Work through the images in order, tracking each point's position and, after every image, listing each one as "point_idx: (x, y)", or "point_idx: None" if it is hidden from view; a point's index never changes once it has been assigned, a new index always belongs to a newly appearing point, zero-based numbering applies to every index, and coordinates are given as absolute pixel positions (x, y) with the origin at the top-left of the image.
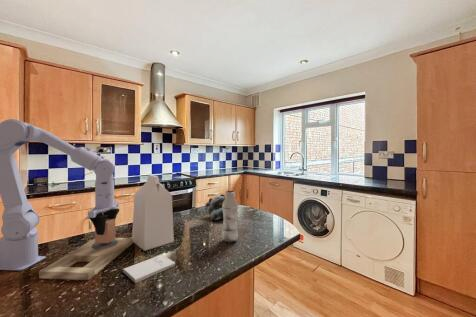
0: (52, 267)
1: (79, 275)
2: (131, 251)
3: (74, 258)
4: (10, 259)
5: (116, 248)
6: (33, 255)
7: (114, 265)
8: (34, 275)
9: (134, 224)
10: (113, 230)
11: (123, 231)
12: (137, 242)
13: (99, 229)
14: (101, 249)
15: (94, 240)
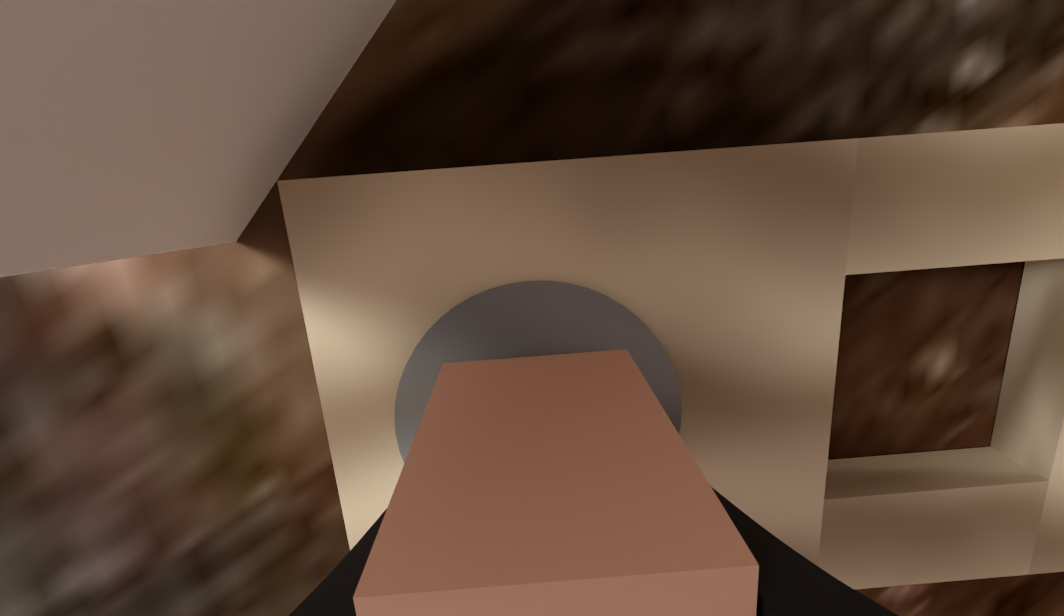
0: (1055, 520)
1: None
2: (531, 51)
3: (855, 486)
4: None
5: (639, 198)
6: None
7: (875, 43)
8: (993, 585)
9: (44, 194)
10: (481, 423)
11: (14, 517)
12: (327, 76)
13: None
14: (681, 360)
15: None
